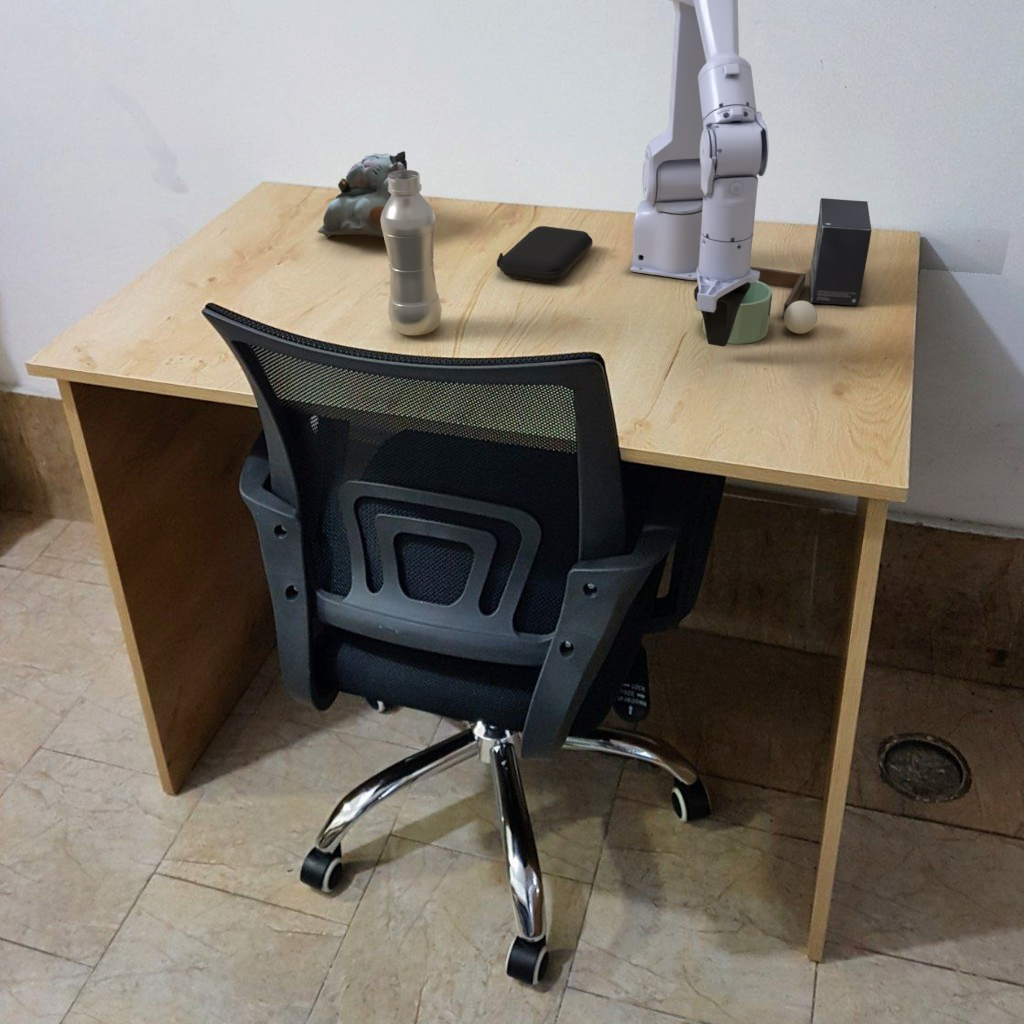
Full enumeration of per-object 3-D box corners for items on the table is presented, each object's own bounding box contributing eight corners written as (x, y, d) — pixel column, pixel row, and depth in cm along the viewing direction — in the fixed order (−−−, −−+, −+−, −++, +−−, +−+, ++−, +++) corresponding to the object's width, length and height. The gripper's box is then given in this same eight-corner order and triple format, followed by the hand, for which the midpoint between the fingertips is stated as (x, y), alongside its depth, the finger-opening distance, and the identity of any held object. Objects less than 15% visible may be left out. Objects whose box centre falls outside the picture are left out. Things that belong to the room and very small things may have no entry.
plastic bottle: (390, 320, 146) (374, 167, 135) (442, 317, 147) (431, 164, 135) (390, 343, 141) (373, 185, 129) (444, 339, 141) (432, 182, 130)
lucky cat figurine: (306, 233, 172) (320, 139, 170) (378, 248, 178) (392, 158, 176) (343, 234, 159) (359, 133, 157) (419, 251, 165) (435, 154, 163)
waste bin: (694, 338, 139) (697, 299, 136) (712, 311, 145) (715, 273, 142) (759, 348, 137) (763, 309, 134) (774, 320, 143) (778, 282, 140)
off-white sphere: (778, 336, 139) (782, 306, 137) (786, 322, 142) (789, 293, 140) (811, 341, 138) (815, 311, 135) (818, 327, 141) (822, 297, 138)
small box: (861, 307, 145) (874, 229, 139) (809, 304, 146) (819, 226, 140) (858, 274, 153) (869, 198, 147) (808, 271, 154) (818, 196, 148)
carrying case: (528, 239, 167) (487, 278, 156) (528, 219, 165) (486, 257, 154) (596, 248, 163) (559, 289, 152) (596, 228, 162) (559, 268, 151)
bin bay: (704, 306, 147) (705, 292, 145) (724, 276, 154) (725, 262, 153) (787, 319, 143) (789, 304, 142) (804, 287, 150) (806, 273, 149)
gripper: (745, 261, 119) (735, 376, 127) (777, 214, 130) (766, 322, 137) (681, 253, 121) (674, 365, 129) (717, 207, 132) (709, 313, 140)
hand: (717, 342), depth 133 cm, fingers closed
